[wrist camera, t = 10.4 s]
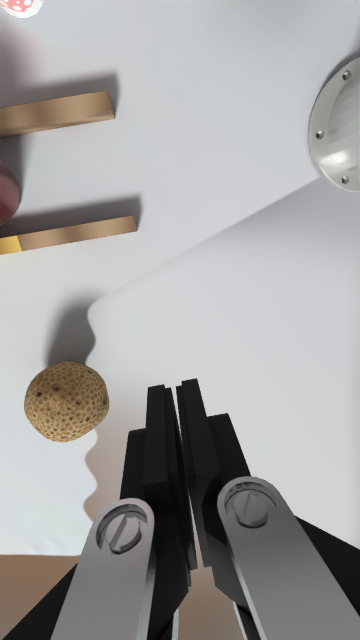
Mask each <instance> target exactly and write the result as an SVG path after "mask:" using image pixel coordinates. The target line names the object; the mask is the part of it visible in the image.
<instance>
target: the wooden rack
mask: <svg viewBox="0 0 360 640" xmlns="http://www.w3.org/2000/svg"><path fill="white" fill-rule="evenodd" d="M110 119H115V117H114V112H113V107H112V102H111V98H110V96H109V93H108V91H107V90H106V91H100V92H94V93H88V94H82V95H76V96H70V97H64V98H58V99H51V100H45V101H39V102H33V103H27V104H21V105H15V106H9V107H3V108H0V138H1V137H7V136H13V135H19V134H25V133H31V132H37V131H43V130H49V129H55V128H61V127H67V126H73V125H79V124H86V123H92V122H98V121H104V120H110ZM136 231H137V227H136V222H135V217H134V216H127V217H121V218H115V219H110V220H104V221H98V222H92V223H86V224H80V225H75V226H69V227H63V228H57V229H51V230H46V231H40V232H34V233H28V234H22V235H16V236H10V237H5V238H0V255H2V254H8V253H14V252H20V251H25V250H31V249H37V248H43V247H49V246H54V245H60V244H66V243H72V242H78V241H83V240H89V239H95V238H101V237H107V236H112V235H118V234H124V233H130V232H136Z"/></svg>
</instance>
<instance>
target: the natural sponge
mask: <svg viewBox="0 0 360 640" xmlns="http://www.w3.org/2000/svg"><path fill="white" fill-rule="evenodd" d="M24 410H25V414H26V416H27V418H28V420H29V421H30V423H31V424H32V426H33V427H34V428H35V429H36V430H37V431H38V432H40V433H41V434H42V435H43V436H44V437H46V438H48V439H50V440H52V441H55V442H68V441H72V440H75V439H77V438H79V437H81V436H83V435H85V434H86V433H88V432H89V431H90V430H92V429H93V428H94V427H96V426H97V425H98V424H99V423H101V421H102V420H103V419H104V418H105V416H106V415H107V413H108V410H109V397H108V394H107V388H106V385H105V382H104V380H103V379H102V377H101V376H100V375H99V374H98V373H97V372H96V371H94V370H93V369H91V368H90V367H88V366H86V365H84V364H81V363H78V362H72V361H66V362H60V363H58V364H55V365H52V366H50V367H48V368H46V369H45V370H43V371H42V372H40V373H39V374H38V375H37V376H36V377H35V378H34V379H33V380H32V381H31V383H30V385H29V387H28V389H27V392H26V396H25V401H24Z"/></svg>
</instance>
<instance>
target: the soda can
mask: <svg viewBox="0 0 360 640" xmlns="http://www.w3.org/2000/svg"><path fill="white" fill-rule="evenodd" d="M19 196H20V195H19V187H18V184H17V181H16V179H15V177H14V175H13V173H12V172H11V170H10V169H9V168H8V166H7V165H6V164H5V163H4V162H3V161H1V160H0V225H1V224H4V223H6V222H7V221H8V220H10V219H11V218H12V216H13V215H14V214H15V212H16V210H17V208H18V204H19Z"/></svg>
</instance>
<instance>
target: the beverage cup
mask: <svg viewBox="0 0 360 640" xmlns="http://www.w3.org/2000/svg"><path fill="white" fill-rule="evenodd" d="M43 1H44V0H0V5H1V6H2V7H3V8H4V9H5V10H6V11H7V12H8V13H10V14H12V15H14V16H16V17H18V18H28V17H30V16H32V15H34V14H36V13H37V12H38V11H39V9H40V8H41V6H42V5H43Z"/></svg>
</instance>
